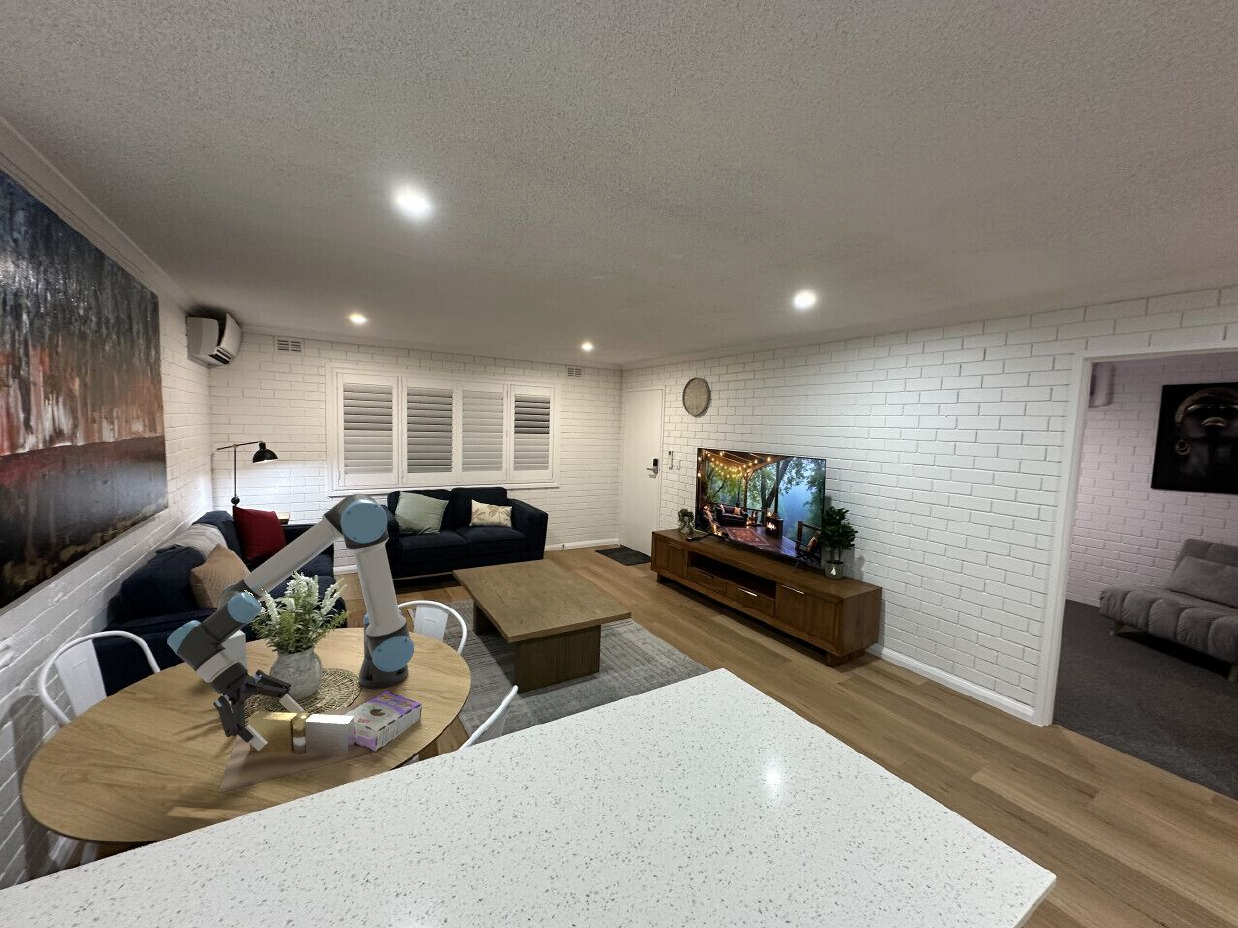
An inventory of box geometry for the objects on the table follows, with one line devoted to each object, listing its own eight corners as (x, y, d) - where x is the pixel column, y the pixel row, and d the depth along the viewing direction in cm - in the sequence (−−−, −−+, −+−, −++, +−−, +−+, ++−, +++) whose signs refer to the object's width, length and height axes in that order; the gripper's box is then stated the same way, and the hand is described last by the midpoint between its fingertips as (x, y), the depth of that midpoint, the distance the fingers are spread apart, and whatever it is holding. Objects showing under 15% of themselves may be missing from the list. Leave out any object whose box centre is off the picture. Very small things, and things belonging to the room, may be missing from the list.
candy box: (384, 708, 151) (336, 736, 136) (386, 689, 151) (338, 715, 135) (420, 722, 146) (375, 753, 131) (422, 703, 146) (377, 731, 130)
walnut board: (239, 734, 138) (239, 730, 138) (368, 705, 153) (368, 702, 153) (218, 797, 116) (218, 793, 116) (371, 756, 131) (371, 752, 131)
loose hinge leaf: (259, 741, 134) (258, 709, 133) (314, 744, 133) (313, 712, 132) (248, 751, 130) (246, 719, 129) (305, 754, 129) (303, 722, 128)
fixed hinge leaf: (300, 743, 133) (299, 712, 132) (355, 746, 133) (354, 715, 132) (290, 754, 129) (288, 721, 128) (346, 757, 129) (346, 724, 128)
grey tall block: (239, 661, 176) (237, 627, 174) (247, 668, 171) (245, 633, 170) (213, 670, 170) (211, 634, 168) (221, 677, 165) (219, 641, 164)
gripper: (250, 657, 142) (304, 709, 144) (169, 709, 118) (235, 772, 119) (268, 640, 142) (321, 693, 143) (190, 689, 117) (255, 753, 118)
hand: (282, 729), depth 131 cm, fingers open, 13 cm apart
